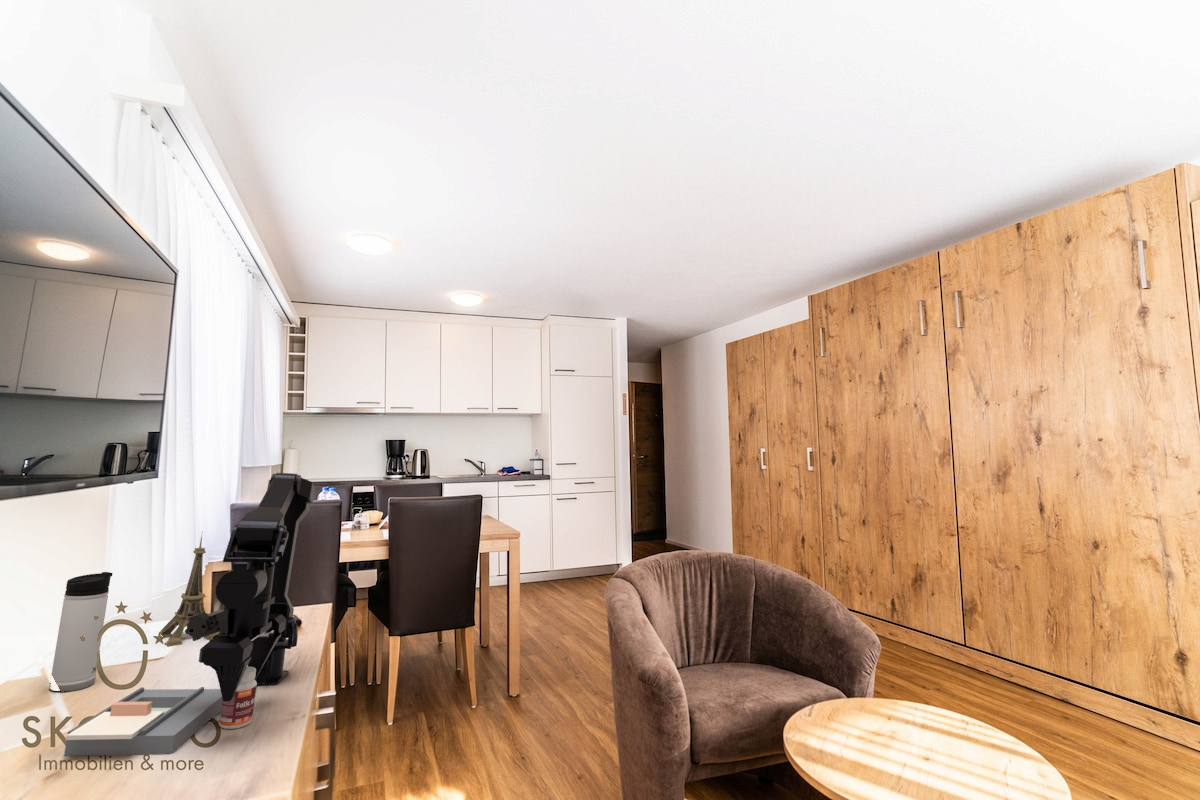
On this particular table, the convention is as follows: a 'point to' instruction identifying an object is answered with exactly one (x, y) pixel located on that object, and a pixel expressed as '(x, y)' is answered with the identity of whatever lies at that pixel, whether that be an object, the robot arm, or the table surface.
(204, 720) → the board
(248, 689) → the pill bottle
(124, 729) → the cover
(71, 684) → the travel mug
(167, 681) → the table surface
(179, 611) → the eiffel tower
